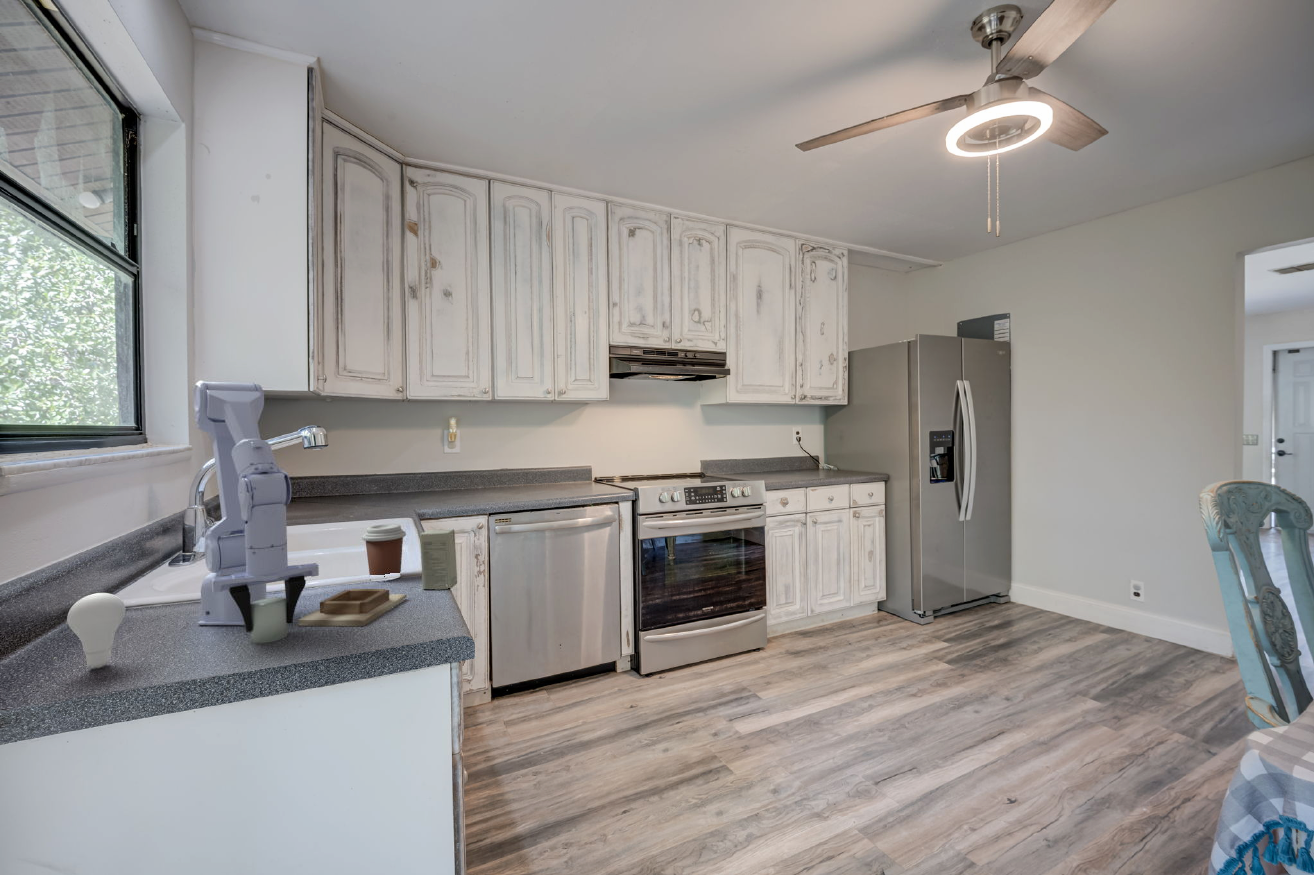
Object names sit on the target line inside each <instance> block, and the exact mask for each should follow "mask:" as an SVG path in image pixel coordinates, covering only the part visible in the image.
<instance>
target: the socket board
mask: <svg viewBox="0 0 1314 875" xmlns="http://www.w3.org/2000/svg"><path fill="white" fill-rule="evenodd" d="M405 598H407V594H405V593H404V594H403V593H402V594H401V593H399V594H397V593H395V594H393V593H392V594H390V589H385V588H352V589H344V590H342V591H340V592H338V593H336V594H334V595H332V596H330V597H328V598H326V599H323V600H322V601H320V602H319V609H317V610H315V611H313V612H311V613H310V614H307V615H304V616H303V617H300V619H297V625H298V626H304V627H305V626H307V627H309V626H311V627H312V626H313V627H317V626H318V627H319V626H320V627H322V626H323V627H328V626H329V627H331V626H333V627H334V626H335V627H365V626H366V625H368V624H370V623H371V622H373V621H374V620H377V618H379V617H381V616H383V615H384V614H386V613H387V612H388V611H390V610H392V609H393V608H395V607H397V606H398V605H400V604H401V603H403V602H404V601H403V600H404V599H405ZM402 601H403V602H402ZM400 602H401V603H400ZM399 603H400V604H399ZM397 604H398V605H397ZM396 605H397V606H396ZM394 606H395V607H394ZM392 607H393V608H392ZM391 608H392V609H391Z"/></svg>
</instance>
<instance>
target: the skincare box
mask: <svg viewBox="0 0 1314 875" xmlns="http://www.w3.org/2000/svg"><path fill="white" fill-rule="evenodd" d="M419 545H420V559H421V562H420V564H421V580H422V590H423V589H435V590H451V589H453V588H454V587H455V586H456V585H457V584H458V573H457V571H458V570H457V556H456V554H457V552H456V550H457V548H456V534H455V529H454V528H453V529H438V530H437V529H435V530H432V529H431V530H426V531H424V532H422V533H419ZM446 584H447V585H448V587H447V586H446ZM448 588H450V589H448Z"/></svg>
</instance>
